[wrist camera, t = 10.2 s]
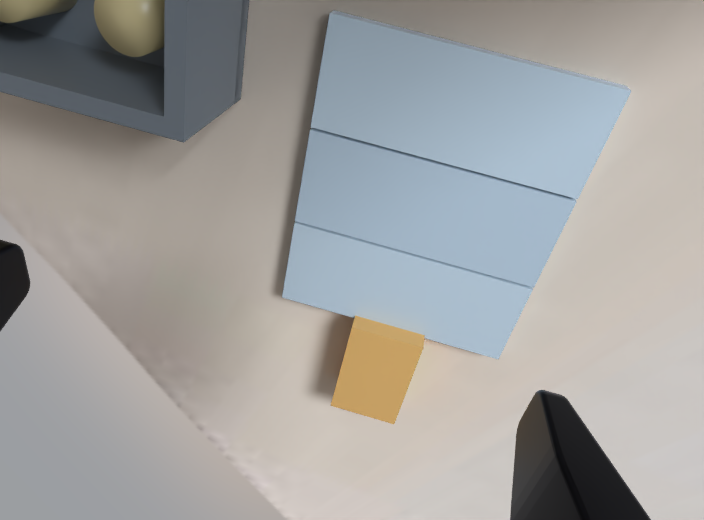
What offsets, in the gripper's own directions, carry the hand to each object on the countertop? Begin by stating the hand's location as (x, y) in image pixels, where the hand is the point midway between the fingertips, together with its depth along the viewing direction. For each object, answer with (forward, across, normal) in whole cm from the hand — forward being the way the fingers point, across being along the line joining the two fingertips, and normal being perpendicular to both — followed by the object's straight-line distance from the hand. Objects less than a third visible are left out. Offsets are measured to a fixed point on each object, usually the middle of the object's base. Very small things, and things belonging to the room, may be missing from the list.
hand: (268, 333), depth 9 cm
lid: (+12, -2, +5) cm, 13 cm away
